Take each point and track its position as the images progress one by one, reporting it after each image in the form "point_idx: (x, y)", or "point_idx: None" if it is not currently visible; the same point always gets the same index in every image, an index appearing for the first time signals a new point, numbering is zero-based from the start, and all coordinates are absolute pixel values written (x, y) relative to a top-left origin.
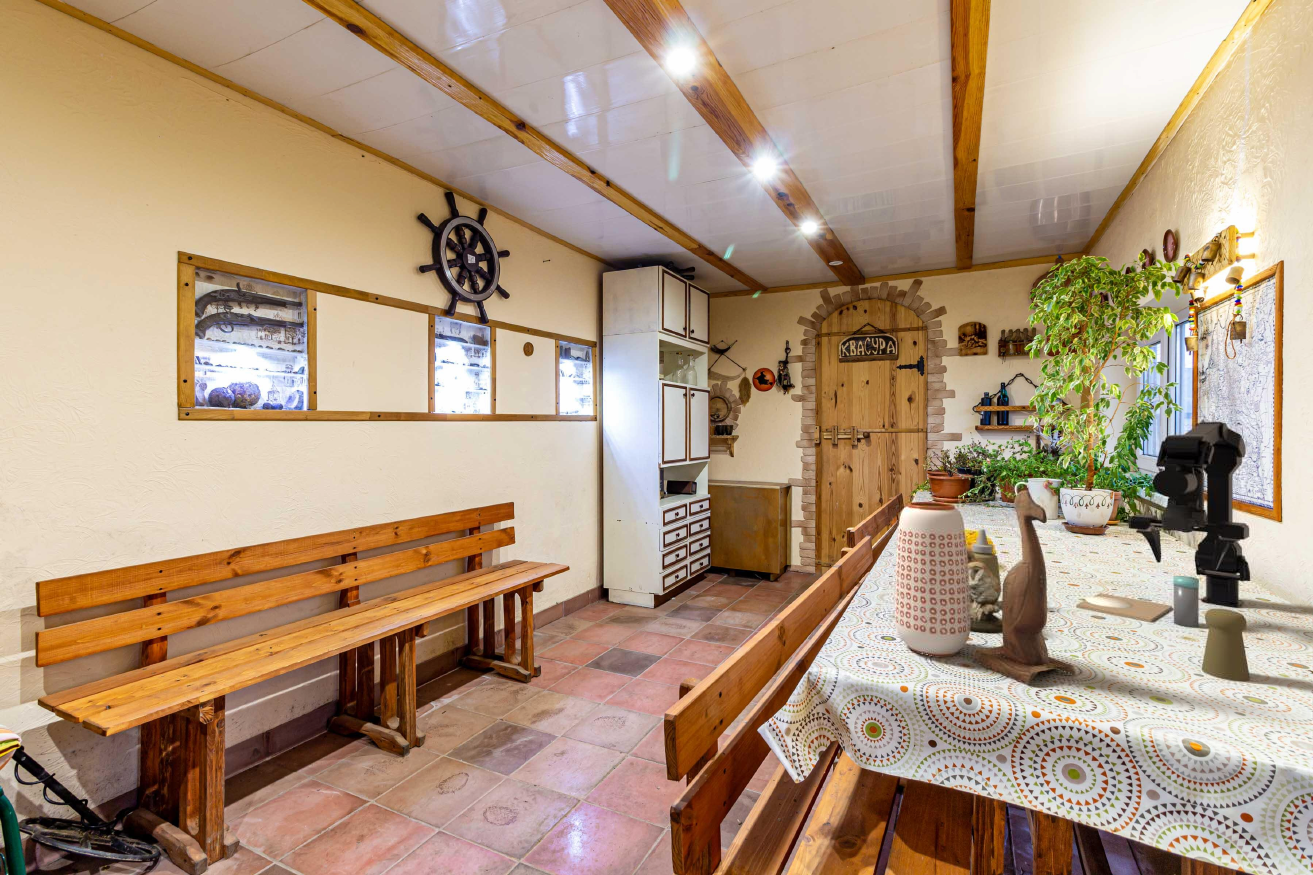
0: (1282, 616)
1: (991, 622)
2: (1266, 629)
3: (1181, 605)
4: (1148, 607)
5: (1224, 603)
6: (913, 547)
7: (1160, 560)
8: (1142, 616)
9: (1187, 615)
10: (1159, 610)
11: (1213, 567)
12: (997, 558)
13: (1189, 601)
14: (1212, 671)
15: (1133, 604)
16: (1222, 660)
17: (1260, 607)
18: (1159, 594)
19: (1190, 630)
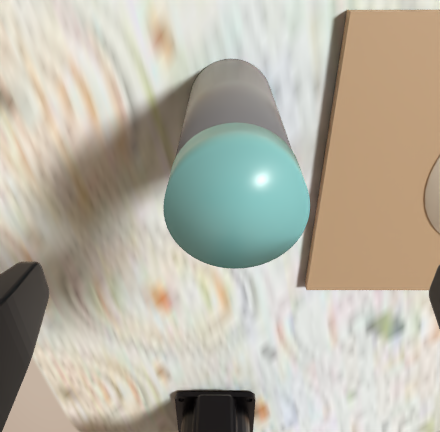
0: (85, 384)
1: None
2: (49, 242)
3: (242, 86)
4: (370, 214)
5: (202, 394)
6: None
7: (436, 299)
8: (386, 38)
9: (217, 75)
10: (333, 201)
11: (24, 272)
12: None
13: (207, 101)
14: None
15: (420, 218)
16: None
17: (144, 421)
18: (351, 394)
19: (195, 4)
